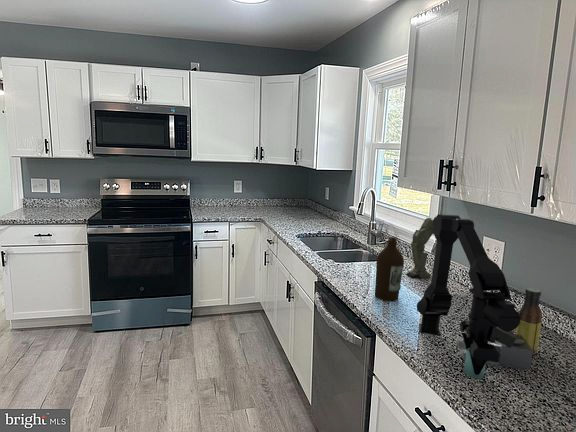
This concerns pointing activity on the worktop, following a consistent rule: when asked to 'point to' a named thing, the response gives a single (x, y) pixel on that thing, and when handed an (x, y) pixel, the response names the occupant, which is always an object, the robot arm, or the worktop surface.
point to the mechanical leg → (421, 249)
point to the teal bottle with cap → (471, 367)
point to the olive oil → (389, 272)
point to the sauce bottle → (530, 319)
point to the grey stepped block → (508, 353)
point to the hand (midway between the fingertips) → (474, 368)
